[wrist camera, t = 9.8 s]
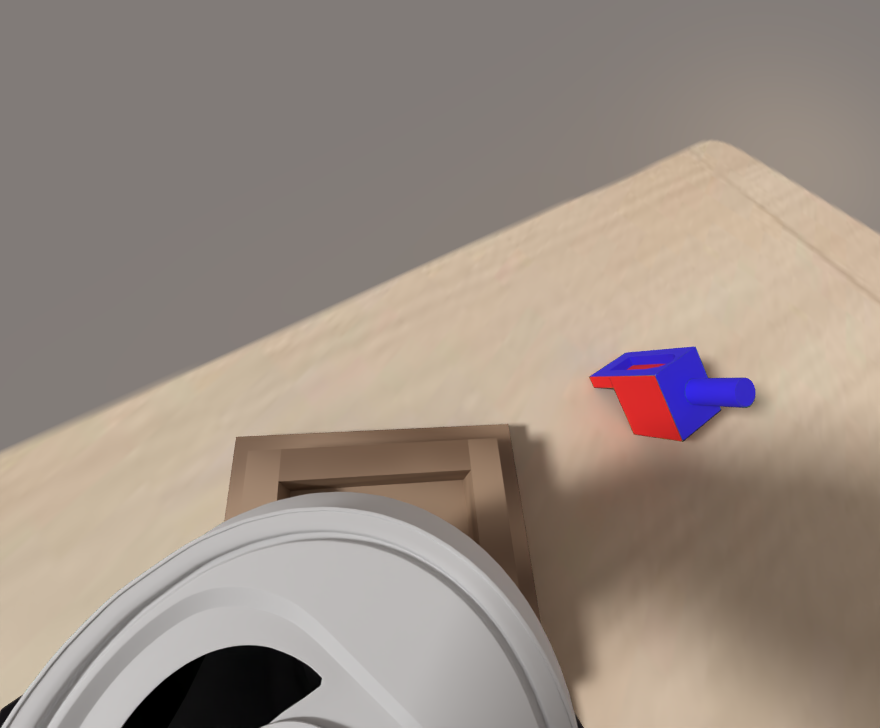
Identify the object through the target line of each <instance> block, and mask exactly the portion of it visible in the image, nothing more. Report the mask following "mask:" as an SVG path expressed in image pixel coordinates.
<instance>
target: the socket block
mask: <svg viewBox="0 0 880 728" xmlns="http://www.w3.org/2000/svg"><path fill="white" fill-rule="evenodd" d="M324 492H355V493H365V494H372V495H379V496H384V497H388V498H393V499H396V500H399V501H402V502H405V503H408V504H412V505H414V506H417V507H419V508H422V509H424V510H426V511H428V512H430V513H432V514H434V515H436V516H438V517H439V518H441V519H443V520H444V521H446V522H448V523H450V524H451V525H453V526H455V527H456V528H457V529H459V530H460V531H461V532H463V533H464V534H466V535H467V536H468V537H470V538H471V539H472V540H473V541H474V542H476V543H477V544H478V545H479V546H480V547H481V548H483V549H484V550H485V551H486V552H487V553H488V554H489V555H490V556H491V557H492V558H493V559H494V560H495V561H496V562H497V563H498V564H499V565H500V566H501V567H502V569H503V570H504V571H505V572H506V574H507V575H508V576H509V577H510V578H511V580H512V581H513V582H514V583H515V585H516V586H517V587H518V589H519V590H520V592H521V593H522V595H523V596H524V597H525V599H526V600H527V602H528V603H529V605H530V607H531V608H532V610H533V612H534V613H535V615H536V617H537V618H538V620H539V622H540V616H539V610H538V603H537V597H536V591H535V585H534V579H533V573H532V567H531V561H530V554H529V548H528V542H527V536H526V530H525V524H524V518H523V511H522V505H521V499H520V493H519V487H518V481H517V475H516V469H515V462H514V456H513V450H512V444H511V438H510V432H509V426H508V424H502V425H481V426H460V427H438V428H417V429H396V430H374V431H353V432H331V433H310V434H289V435H267V436H246V437H236V442H235V449H234V456H233V463H232V470H231V478H230V485H229V492H228V499H227V506H226V513H225V520H224V522H225V521H227V520H229V519H230V518H233V517H235V516H237V515H239V514H242V513H244V512H247V511H249V510H252V509H254V508H257V507H259V506H262V505H265V504H268V503H270V502H274V501H278V500H282V499H286V498H291V497H295V496H300V495H305V494H311V493H324ZM540 624H541V622H540Z"/></svg>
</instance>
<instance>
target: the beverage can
mask: <svg viewBox="0 0 880 728" xmlns="http://www.w3.org/2000/svg"><path fill="white" fill-rule="evenodd" d="M205 654H206V656H205V658H204V660H203V662H202V664H201V666H200V668H199V670H198V672H197V674H196V677H195V679H194V681H193V683H192V685H191V687H190V689H189V691H188V693H187V695H186V697H185V699H184V700H183V702H182V704H181V706H180V707H179V709H178V711H177V713H176V714H175V716H174V718H173V719H172V721H171V723H170V725H169V726H168V728H578V726H577V721H576V717H575V713H574V710H573V706H572V702H571V698H570V695H569V691H568V688H567V685H566V682H565V679H564V677H563V674H562V671H561V668H560V665H559V663H558V660H557V658H556V656H555V653H554V651H553V648H552V646H551V644H550V642H549V640H548V638H547V636H546V634H545V632H544V630H543V628H542V626H541V624H540V622H539V620H538V618H537V617H536V615H535V613H534V612H533V610H532V608H531V607H530V605H529V603H528V602H527V600H526V599H525V597H524V596H523V595H522V593H521V592H520V590H519V589H518V587H517V586H516V585H515V583H514V582H513V581H512V580H511V578H510V577H509V576H508V575H507V574H506V572H505V571H504V570H503V569H502V567H501V566H500V565H499V564H498V563H497V562H496V561H495V560H494V559H493V558H492V557H491V556H490V555H489V554H488V553H487V552H486V551H485V550H484V549H483V548H481V547H480V546H479V545H478V544H477V543H476V542H474V541H473V540H472V539H471V538H470V537H468V536H467V535H466V534H464V533H463V532H461V531H460V530H459V529H457V528H456V527H455V526H453V525H451V524H450V523H448V522H446V521H444V520H443V519H441V518H439V517H438V516H436V515H434V514H432V513H430V512H428V511H426V510H424V509H422V508H419V507H417V506H414V505H412V504H408V503H405V502H402V501H399V500H396V499H393V498H388V497H384V496H379V495H372V494H365V493H355V492H324V493H311V494H305V495H300V496H295V497H291V498H286V499H282V500H278V501H274V502H270V503H268V504H265V505H262V506H259V507H257V508H254V509H252V510H249V511H247V512H244V513H242V514H239V515H237V516H235V517H233V518H230V519H229V520H227V521H225V522H223V523H221V524H219V525H218V526H216V527H215V528H213V529H212V530H210V531H208V532H207V533H205V534H204V535H202V536H201V537H199V538H197V539H195V540H193V541H191V542H189V543H188V544H186V545H184V546H183V547H181V548H180V549H178V550H176V551H175V552H173V553H172V554H170V555H169V556H167V557H166V558H164V559H163V560H161V561H160V562H158V563H157V564H155V565H154V566H152V567H151V568H150V569H148V570H147V571H145V572H144V573H142V574H141V575H140V576H138V577H137V578H135V579H134V580H132V581H131V582H130V583H128V584H127V585H126V586H124V587H123V588H122V589H120V590H119V591H118V592H116V593H115V594H114V595H113V596H112V597H111V598H110V599H108V600H107V601H106V602H105V603H104V604H103V605H102V606H101V607H100V608H99V609H98V610H97V611H96V612H95V613H94V614H92V615H91V616H90V617H89V618H88V619H87V620H86V621H85V622H84V623H83V624H82V625H81V626H80V627H79V629H78V630H77V631H76V632H75V633H74V634H73V635H72V636H71V637H70V638H69V639H68V640H67V641H66V642H65V643H64V644H63V645H62V646H61V648H60V649H59V650H58V651H57V652H56V653H55V655H54V656H53V657H52V658H51V659H50V660H49V662H48V663H47V664H46V666H45V667H44V668H43V669H42V671H41V672H40V673H39V675H38V676H37V677H36V678H35V680H34V681H33V682H32V683H31V685H30V686H29V687H28V689H27V690H26V691H25V693H24V694H23V696H22V697H21V698H20V700H19V701H18V703H17V704H16V705H15V707H14V708H13V710H12V711H11V713H10V714H9V716H8V718H7V719H6V721H5V722H4V724H3V725H2V727H1V728H122V727H123V725H124V724H125V722H126V721H127V720H128V718H129V717H130V716H131V714H132V713H133V712H134V711H135V709H136V708H137V707H138V706H139V705H140V704H141V703H142V701H143V700H144V699H145V698H146V697H147V696H148V695H149V694H150V693H151V692H152V691H153V690H154V689H155V688H156V687H157V686H158V685H159V684H160V683H162V682H163V681H164V680H165V679H166V678H167V677H169V676H170V675H171V674H173V673H174V672H175V671H177V670H178V669H180V668H181V667H183V666H184V665H186V664H187V663H189V662H191V661H193V660H195V659H197V658H199V657H201V656H203V655H205Z"/></svg>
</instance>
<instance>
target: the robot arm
mask: <svg viewBox="0 0 880 728" xmlns="http://www.w3.org/2000/svg"><path fill="white" fill-rule="evenodd" d="M205 656H206V654H205V655H203V656H201V657H199V658H197V659H195V660H193V661H191V662H189V663H187V664H186V665H184V666H183V667H181V668H180V669H178V670H177V671H175V672H174V673H173V674H171V675H170V676H169V677H167V678H166V679H165V680H164V681H163V682H162V683H160V684H159V685H158V686H157V687H156V688H155V689H154V690H153V691H152V692H151V693H150V694H149V695H148V696H147V697H146V698H145V699H144V700H143V701H142V703H141V704H140V705H139V706H138V707H137V708H136V709H135V711H134V712H133V713H132V714H131V716H130V717H129V718H128V720H127V721H126V722H125V724H124V725H123V727H122V728H168V726H169V725H170V723H171V721H172V719H173V718H174V716H175V714H176V713H177V711H178V709H179V707H180V706H181V704H182V702H183V700H184V699H185V697H186V695H187V693H188V691H189V689H190V687H191V685H192V683H193V681H194V679H195V677H196V674H197V672H198V670H199V668H200V666H201V664H202V662H203V660H204V658H205ZM22 696H23V695H22ZM22 696H20V697H19V698H17V699H16V700H14V701H13V702H11V703H10V704H8V705H7V706H5V707H4V708H2V709H1V711H0V728H1V727H2V725H3V724H4V722H5V721H6V719H7V718H8V716H9V714H10V713H11V711H12V710H13V708H14V707H15V705H16V704H17V703H18V701H19V700H20V698H21V697H22ZM574 713H575V712H574ZM575 717H576V721H577V726H578V728H584V727H583V726H582V724H581V722H580V721H579V719H578V717H577V716H576V714H575Z"/></svg>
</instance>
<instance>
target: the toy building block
mask: <svg viewBox="0 0 880 728" xmlns="http://www.w3.org/2000/svg"><path fill="white" fill-rule="evenodd" d="M589 378H590V380H591V382H592V384H593V386H594V388H614V390H615V392H616V395H617V397H618V399H619V402H620V404H621V406H622V408H623V411H624V413H625V415H626V417H627V420H628V422H629V424H630V426H631V429H632V431H633V433H634V434H635V435H642V436H648V437H655V438H662V439H669V440H676V441H682V442H683V441H684V440H686V439H687V438H688V437H689V436H690V435H692V434H693V433H694V432H695V431H697V430H698V429H699V428H700V427H701V426H703V425H704V424H705V423H706V422H707V421H709V420H710V419H711V418H712V417H714V416H715V415H716V414H717V413H718V412H720V411H721V408H720V406H723V407H742V408H747V407H750V406H751V405H752V404H753V402H754V399H755V387H754V385H753V383H752V381H751V380H749V379H748V378H708V376H707V374H706V371H705V369H704V366H703V364H702V362H701V359H700V357H699V354H698V352H697V349H696V347H685V348H673V349H662V350H651V351H640V352H629V353H624V354H623V355H621V356H620V357H618V358H617V359H615V360H614V361H612V362H611V363H609V364H608V365H606V366H605V367H603V368H602V369H600V370H599V371H597V372H596V373H594V374H593V375H591V376H590V377H589Z"/></svg>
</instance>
